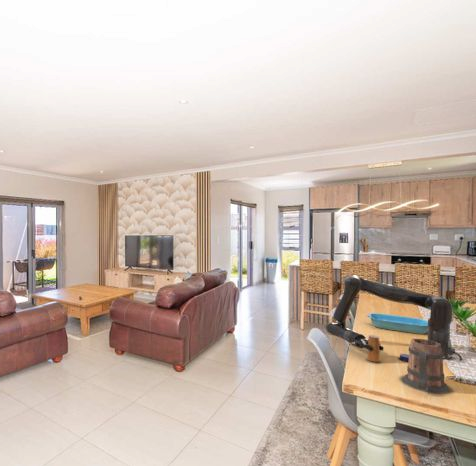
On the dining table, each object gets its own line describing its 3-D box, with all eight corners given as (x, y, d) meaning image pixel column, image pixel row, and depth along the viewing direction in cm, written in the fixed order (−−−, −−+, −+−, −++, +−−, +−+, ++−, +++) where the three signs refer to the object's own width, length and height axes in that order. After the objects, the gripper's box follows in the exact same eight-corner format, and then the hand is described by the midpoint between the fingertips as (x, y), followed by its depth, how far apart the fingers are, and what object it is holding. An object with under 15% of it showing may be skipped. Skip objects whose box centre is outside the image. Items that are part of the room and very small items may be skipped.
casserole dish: (430, 328, 235) (430, 318, 235) (436, 337, 217) (436, 326, 217) (366, 320, 256) (366, 311, 256) (366, 327, 238) (366, 318, 238)
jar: (381, 360, 180) (381, 336, 179) (377, 362, 177) (377, 338, 177) (369, 357, 184) (370, 334, 184) (365, 359, 181) (366, 335, 181)
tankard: (404, 372, 166) (404, 333, 166) (451, 384, 154) (452, 341, 153) (396, 389, 150) (396, 345, 150) (448, 403, 138) (449, 355, 137)
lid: (409, 362, 178) (409, 358, 178) (397, 358, 184) (397, 354, 184) (416, 361, 180) (416, 357, 180) (404, 357, 185) (404, 353, 185)
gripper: (365, 343, 195) (390, 355, 178) (342, 344, 194) (364, 356, 177) (366, 331, 195) (390, 341, 178) (342, 332, 194) (364, 342, 177)
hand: (377, 349), depth 178 cm, fingers closed on jar, 5 cm apart
